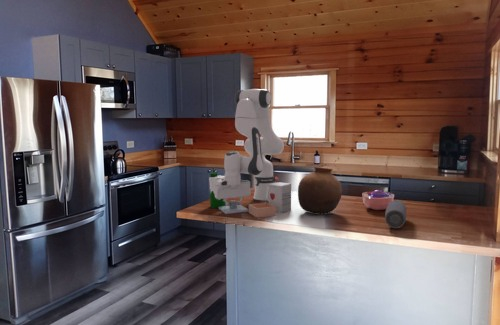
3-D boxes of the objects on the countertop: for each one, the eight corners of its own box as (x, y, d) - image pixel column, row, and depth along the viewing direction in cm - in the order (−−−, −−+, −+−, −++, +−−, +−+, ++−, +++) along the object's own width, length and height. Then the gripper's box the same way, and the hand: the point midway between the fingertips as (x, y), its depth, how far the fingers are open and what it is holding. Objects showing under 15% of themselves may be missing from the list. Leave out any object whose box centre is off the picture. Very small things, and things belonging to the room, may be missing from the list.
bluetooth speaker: (386, 217, 192) (386, 198, 191) (406, 219, 189) (407, 199, 188) (383, 229, 172) (384, 208, 170) (405, 232, 168) (406, 209, 167)
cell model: (395, 206, 216) (396, 186, 215) (392, 214, 198) (393, 193, 197) (364, 204, 223) (364, 185, 222) (359, 211, 205) (359, 191, 204)
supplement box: (268, 210, 211) (268, 183, 209) (278, 207, 218) (278, 181, 216) (281, 213, 205) (281, 185, 203) (291, 210, 211) (291, 183, 210)
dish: (267, 211, 209) (267, 202, 208) (276, 216, 199) (276, 206, 198) (248, 213, 205) (248, 204, 204) (256, 218, 195) (256, 208, 194)
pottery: (293, 216, 197) (293, 168, 194) (303, 207, 218) (303, 163, 215) (338, 220, 188) (338, 170, 185) (344, 210, 210) (345, 164, 207)
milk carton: (213, 205, 226) (212, 171, 224) (227, 205, 224) (227, 172, 222) (208, 208, 218) (207, 174, 215) (223, 209, 216) (223, 174, 214)
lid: (240, 206, 220) (240, 197, 219) (248, 211, 208) (248, 202, 207) (218, 208, 215) (218, 199, 215) (225, 213, 203) (225, 204, 203)
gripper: (248, 178, 217) (248, 202, 218) (213, 181, 209) (214, 206, 211) (252, 180, 211) (252, 204, 212) (216, 183, 203) (217, 208, 205)
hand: (233, 205), depth 211 cm, fingers open, 5 cm apart
